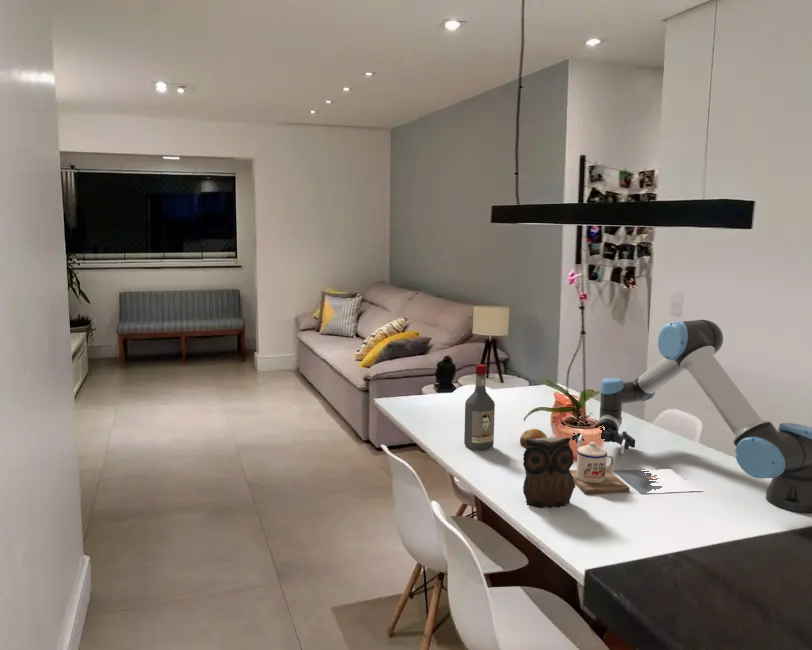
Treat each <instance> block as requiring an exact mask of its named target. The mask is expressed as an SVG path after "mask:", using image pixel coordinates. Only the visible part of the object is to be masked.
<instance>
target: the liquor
mask: <svg viewBox="0 0 812 650" xmlns="http://www.w3.org/2000/svg"><path fill="white" fill-rule="evenodd" d="M486 375H487V365H486V364H483V363H479V364H476V365H475V387H474V391H473V393H471V394H470V396H468V398H467V399H466V400H465V403H464V404H465V405H464V434H463V435H464V441H463V443H464V446H465V445H466V446H467V448H468V447H469V448H468V449H470V450H471V449H473V450H472V451H476V450H481V451H487V450H486V449H488V450H491V449H492V448H493V446H494V442H495V441H494V440H495V411H496V410H495V408H496V407H495V406H496V404H495V401H494V399H492V397H491V396H490V395H489V393H487V389H486ZM466 446H465V447H466Z"/></svg>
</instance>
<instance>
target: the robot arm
mask: <svg viewBox="0 0 812 650" xmlns="http://www.w3.org/2000/svg"><path fill="white" fill-rule="evenodd" d="M657 338H658V339H657V340H658V341H657V348H658V350H659V353H660V355H661V356H662V357H663V358H662V359H661V360H659V361H658V362H657V363H655V364H654V365H653V366H651V367H650V368H649V369H647V370H646V371H644V373H642V374H641V375H639V377H637V378H636V379H634V380H633V381H626V382H624V380H623V379H621V378H619V377H604V378H603V379H602V380H601V386H600V402H599V403H600V406H599V419H598V420H597V423H598V424H597V423H596V425H599V426H602V425H603V426H604V427H605V430H603V428H602V427H603V426H602V427H600V428H599V429H600V430H602V433H601V439H605V440H604V442H605V443H609V442H612V443H616V444H618V445H620V446H621V447H620V454H624V453H625V450H628V449H629V448H632V449H634V448H635V447H636V439H634V437H632V436H630V434H628V433H627V431H624V430H623V431H622V432H620V433H619V431H620V427H621V425H622V423H623V421H622V420H623V416H622V411H623V410H622V409H623V404H628V403H629V404H630V403H637V402H646V401H649V400H652V399H653V398H654V397H655V394H656V393H657V391H658V390H660V389H661V388H662V387H664V386H665V385H667V384H668V383H669V382H671V381H672V380H674V379H676V378H677V377H679V375H682V374H683V373H684V372H685V371H687V372H689V373H690V375H691V376H692V378H693V379H694V380H695V382H696V383H697V384H698V385H697V386H699V388H700V389H701V390H702V392H703V393H704V394H705V396H706V397H707V399H708V400H709V401H710V403H711V404H712V406H713V407H714V408H715V410H716V411H717V412H718V414H719V415H720V416H721V418H722V419H723V421H724V423H726V425H727V426H728V428H729V429H730V430H731V432H732V434H733V436H734V437H733V440H732V441H733V445H734V446H735V450H734V452H735V454H736V455H735V460H736V462H737V464H738V465H739V467H740V469H741V470H742V471H743V472H745V474H747V475H749V476H751V477H753V478H756V479H761V480H762V479H771V480H770V483H769V485H768V487H767V489H766V491H765V500H766V501H767V502H769V503H770V504H772V505H773V504H774V505H773V506H775V505H776V507H778V508H780V507H781V509H783V508H784V509H783V510H787V509H788V511H791V510H792V512H796V511H799V512H798V513H804V512H812V426H809V425H803V424H799V423H792V422H782V423H780V424H779V426H778V428H777V429H776V427H775V426H774V425H773V423H772V422H771V421H770V420H765V419H762V418H761V417H760V415H759V414H758V412H757V411H756V410H755V409H754V408H753V406H752V404H751V403H750V401H748V399H747V397H745V395H744V394H743V393H742V392H741V390H740V388H739V387H738V386H737V385H736V384H735V382H734V381H733V380H732V378H731V377H730V375H729V374H728V373H727V371H726V370H725V369H724V368H723V366H722V365H721V364H720V363H719V361H718V360H717V358H716V357H715V356H714V355H715V354H716V353H718V352H719V350H720V349H721V348H722V346H723V344H724V335H723V332H722V330H721V328H720V327H719V325H717V324H716V323H715V322H713V321H711V320H708V319H694V320H684V321H683V320H682V321H681V320H676V321H673V322H669V323H666V324H665V325H664V326H663V327H662V328H661V330H659V333H658V337H657ZM573 434H575V433H573ZM575 439H576V440H575ZM571 441H575V443H576V444H577V445H576V446H577V449H578V448H579V447H581V446H582V444H583V442H584V439H583V435H582V434H580V433H578V434H577V435H574V436H572V435H571Z"/></svg>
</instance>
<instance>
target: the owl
mask: <svg viewBox="0 0 812 650" xmlns="http://www.w3.org/2000/svg"><path fill="white" fill-rule="evenodd" d="M570 441H571V437H547V438H537V439H528V438H527V439H526V441H525V445H526V448H525V450H524V453H523V457H522V458H523V461H522V462H523V463H522V465H523V468H524V471H525V479H524V481H523V487H522V488H523V489H522V492H523V494H524V498H525V504H526V503H527V504H526V505H527V506H528V505H529V507H532V506H533V507H532V508H536V507H537V509H544V508H545V509H546V508H548V509H552V508H562V507H565V506H566V505H568V504H570V503H571V498H572V495H573V493H574V490H575V488H576V485H575V483H574V481H573V476H572V475H571V473H570V470H571V469H570V468H571V467H573V466H572V465H574V460H575V459H574V458H575V457H574V452H573V450H572V448H571V446H570Z"/></svg>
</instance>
